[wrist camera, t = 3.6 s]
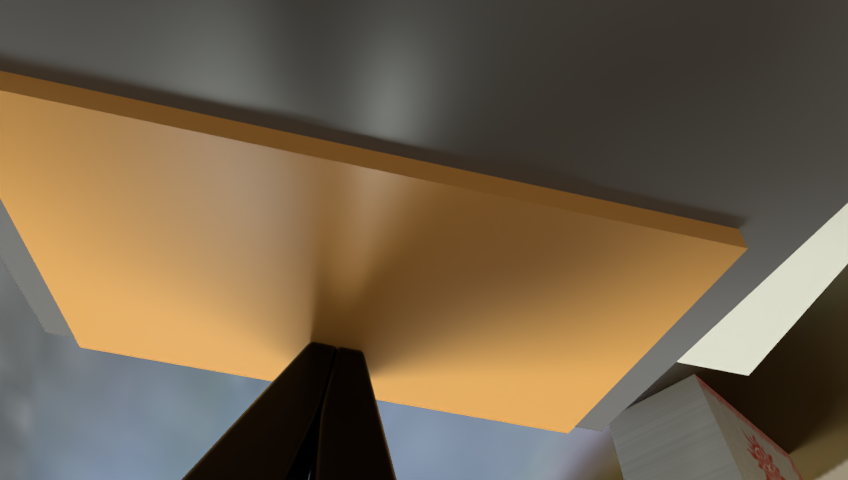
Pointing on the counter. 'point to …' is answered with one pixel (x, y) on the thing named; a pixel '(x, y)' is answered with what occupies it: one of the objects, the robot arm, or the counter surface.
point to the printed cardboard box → (695, 439)
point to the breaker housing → (774, 303)
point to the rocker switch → (417, 183)
